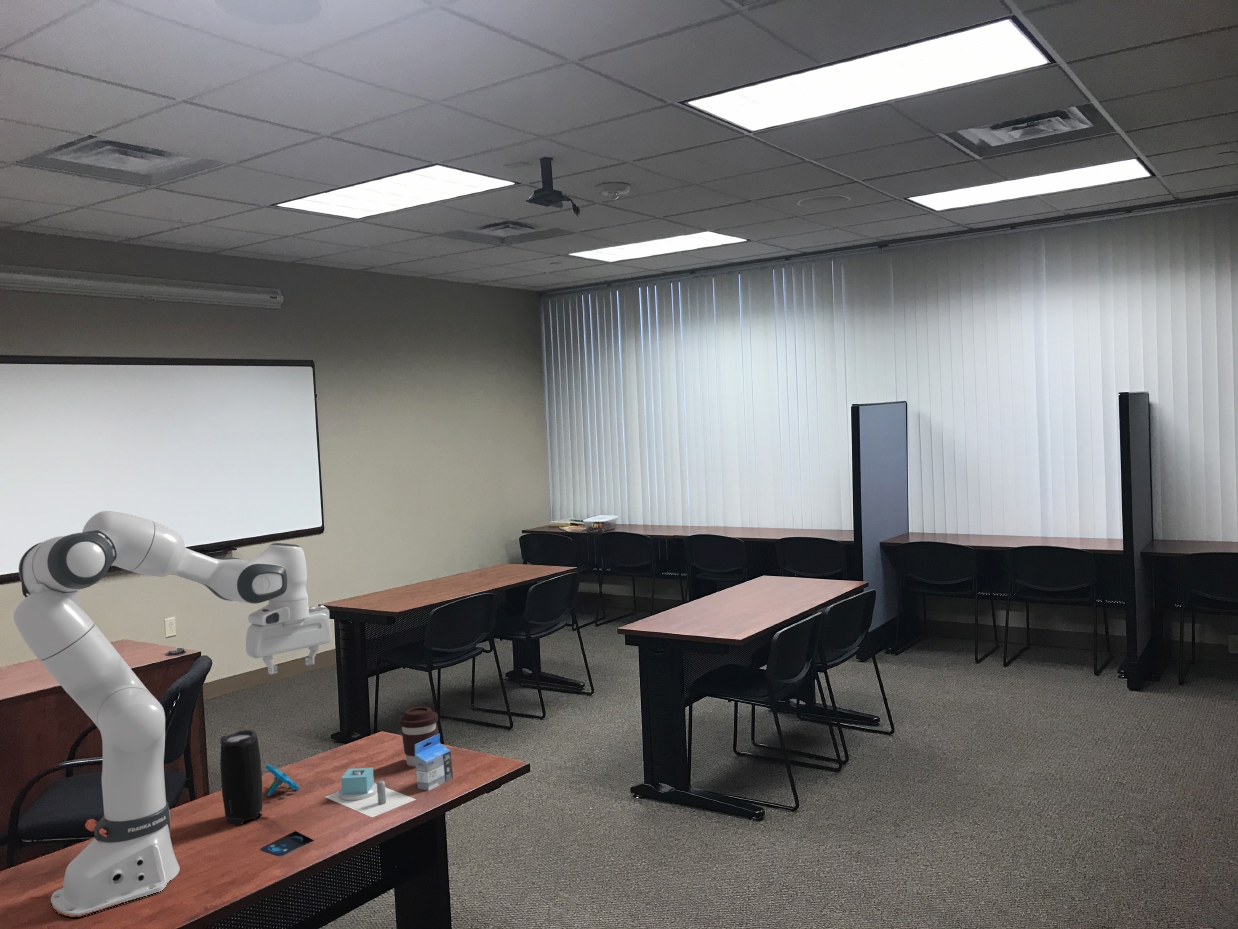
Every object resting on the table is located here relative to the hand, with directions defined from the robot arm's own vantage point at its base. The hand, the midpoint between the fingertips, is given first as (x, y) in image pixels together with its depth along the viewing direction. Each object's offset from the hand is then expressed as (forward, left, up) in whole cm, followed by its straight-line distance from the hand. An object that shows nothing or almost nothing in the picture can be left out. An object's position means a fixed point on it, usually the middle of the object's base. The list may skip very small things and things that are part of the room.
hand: (291, 669), depth 215 cm
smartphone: (-9, -16, -34) cm, 38 cm away
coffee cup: (+33, -3, -33) cm, 47 cm away
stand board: (+11, -13, -33) cm, 37 cm away
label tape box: (+26, -18, -33) cm, 46 cm away
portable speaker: (-11, +5, -33) cm, 36 cm away
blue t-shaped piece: (+2, +13, -33) cm, 36 cm away
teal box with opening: (+11, -8, -31) cm, 33 cm away
